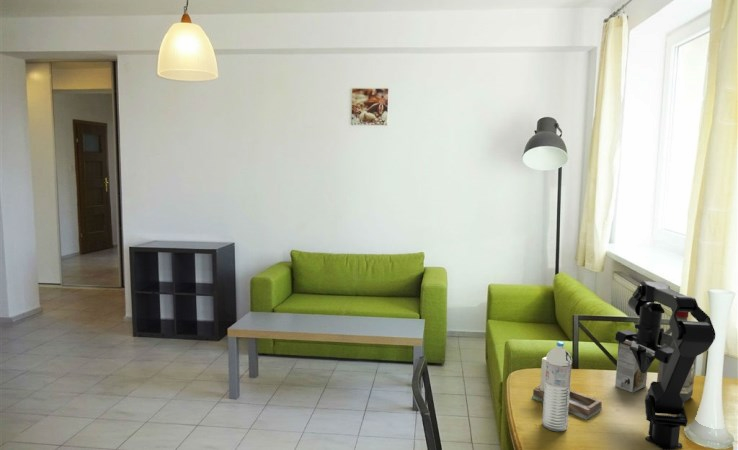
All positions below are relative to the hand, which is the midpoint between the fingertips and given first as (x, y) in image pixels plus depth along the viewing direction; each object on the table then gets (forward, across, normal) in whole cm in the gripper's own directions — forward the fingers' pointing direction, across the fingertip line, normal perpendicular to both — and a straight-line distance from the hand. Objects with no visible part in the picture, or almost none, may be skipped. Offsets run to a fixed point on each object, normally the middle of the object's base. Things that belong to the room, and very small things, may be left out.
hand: (643, 372), depth 153 cm
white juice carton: (+13, +16, +18) cm, 28 cm away
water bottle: (+13, +1, +30) cm, 33 cm away
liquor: (+14, +6, -22) cm, 27 cm away
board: (+14, +12, +17) cm, 25 cm away
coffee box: (+14, +16, -14) cm, 25 cm away
